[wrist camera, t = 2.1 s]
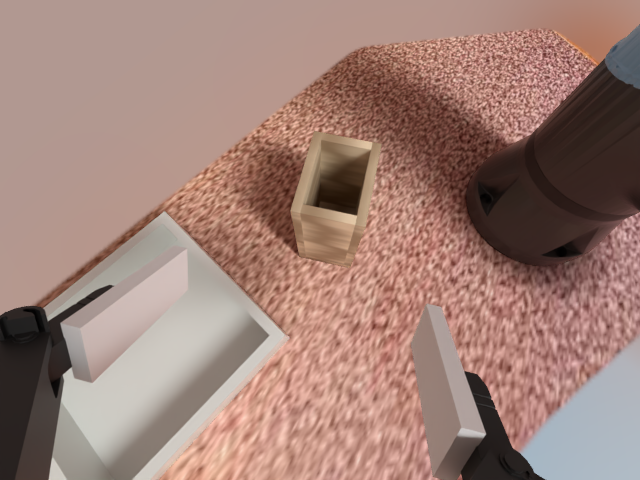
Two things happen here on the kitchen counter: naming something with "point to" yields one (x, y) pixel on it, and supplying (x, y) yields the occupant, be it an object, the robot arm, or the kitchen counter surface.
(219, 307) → the tray
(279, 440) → the kitchen counter surface
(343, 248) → the box
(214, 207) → the kitchen counter surface
